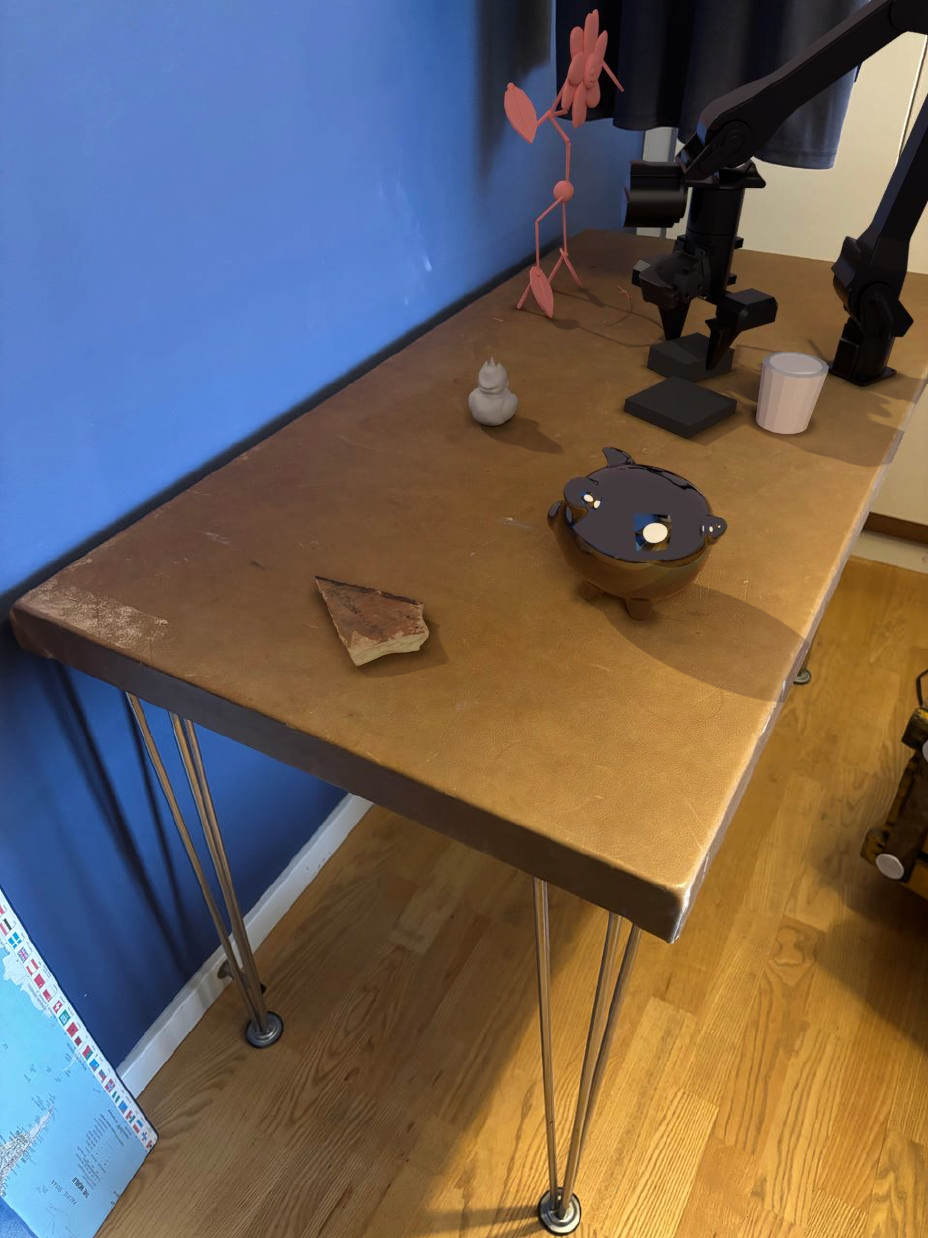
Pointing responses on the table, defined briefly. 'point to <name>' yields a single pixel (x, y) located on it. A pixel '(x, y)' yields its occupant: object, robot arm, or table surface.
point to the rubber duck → (492, 396)
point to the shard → (373, 620)
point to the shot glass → (789, 391)
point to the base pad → (680, 406)
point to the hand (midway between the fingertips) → (690, 359)
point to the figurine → (522, 117)
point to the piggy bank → (634, 531)
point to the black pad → (686, 358)
